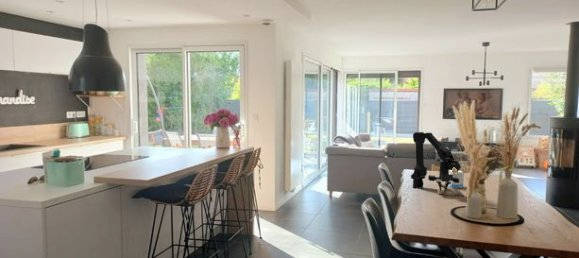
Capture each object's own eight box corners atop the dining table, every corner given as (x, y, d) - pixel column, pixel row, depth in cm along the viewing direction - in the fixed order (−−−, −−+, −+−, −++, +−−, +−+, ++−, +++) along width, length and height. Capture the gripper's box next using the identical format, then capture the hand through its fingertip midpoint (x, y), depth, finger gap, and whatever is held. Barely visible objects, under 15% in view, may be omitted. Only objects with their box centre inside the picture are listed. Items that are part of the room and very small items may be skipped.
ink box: (463, 188, 288) (464, 169, 287) (451, 188, 288) (452, 169, 287) (458, 185, 297) (459, 167, 295) (447, 185, 297) (448, 167, 296)
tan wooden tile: (454, 196, 265) (454, 194, 265) (449, 189, 283) (449, 188, 283) (463, 196, 264) (463, 195, 264) (458, 190, 282) (458, 188, 281)
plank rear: (438, 185, 277) (439, 183, 277) (437, 182, 284) (438, 181, 283) (450, 192, 276) (451, 190, 275) (448, 189, 282) (449, 188, 282)
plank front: (438, 193, 267) (438, 191, 267) (437, 191, 274) (437, 189, 274) (452, 195, 265) (453, 194, 265) (451, 193, 272) (451, 191, 272)
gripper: (431, 169, 262) (429, 193, 263) (461, 171, 258) (460, 195, 259) (428, 166, 273) (427, 189, 274) (458, 168, 269) (456, 191, 270)
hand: (442, 191), depth 269 cm, fingers closed on plank front, 2 cm apart
